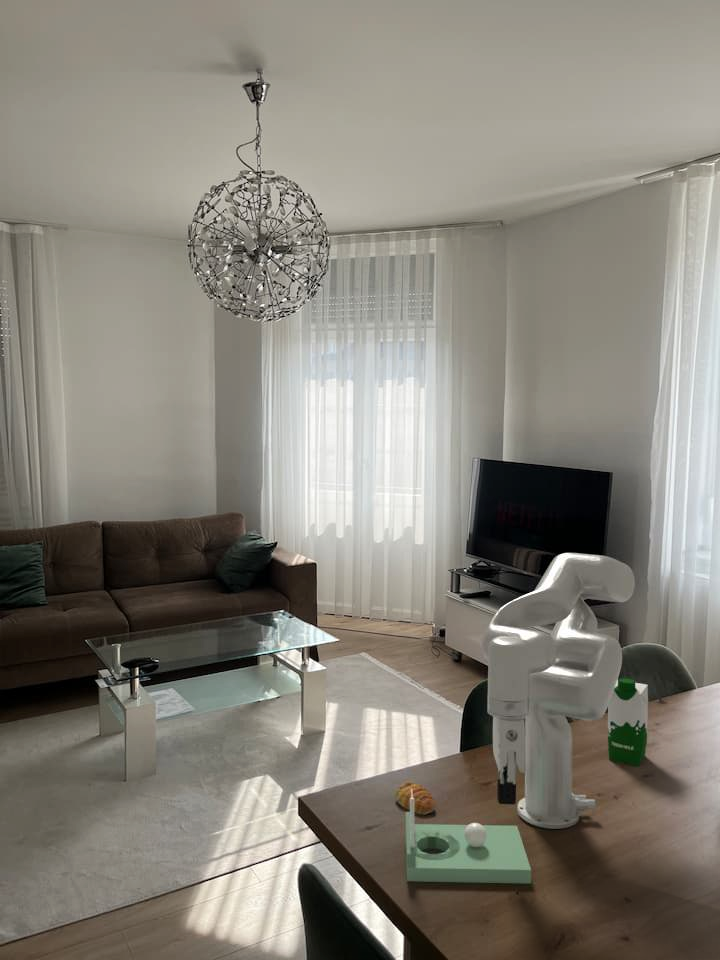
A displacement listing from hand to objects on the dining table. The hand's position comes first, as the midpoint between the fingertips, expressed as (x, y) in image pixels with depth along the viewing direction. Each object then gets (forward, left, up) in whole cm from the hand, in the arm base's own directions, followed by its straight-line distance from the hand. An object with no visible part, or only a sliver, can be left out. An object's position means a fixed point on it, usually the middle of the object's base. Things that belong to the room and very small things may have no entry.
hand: (506, 801), depth 140 cm
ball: (+6, -1, -7) cm, 9 cm away
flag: (+18, +3, -11) cm, 21 cm away
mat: (+8, -1, -11) cm, 14 cm away
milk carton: (-36, -46, -12) cm, 59 cm away
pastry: (+16, -21, -12) cm, 29 cm away
